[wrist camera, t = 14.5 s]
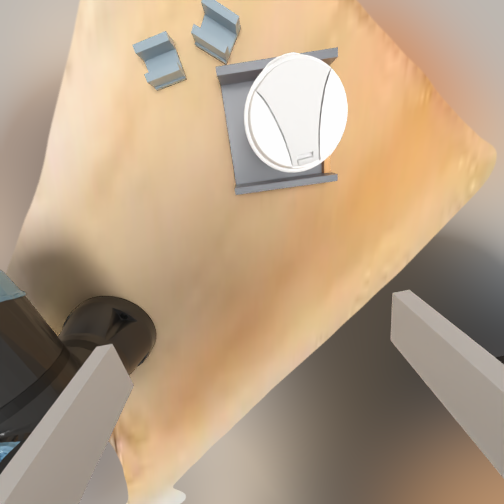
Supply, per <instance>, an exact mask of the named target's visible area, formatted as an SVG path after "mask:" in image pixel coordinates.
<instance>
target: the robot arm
mask: <svg viewBox="0 0 504 504" xmlns="http://www.w3.org/2000/svg"><path fill="white" fill-rule="evenodd" d="M25 295H26V293H25V292H24V291H21V290H20V289H19V288H18V287H17V286H16V285H15V284H14V283H13V282H12V281H11V279H10V278H9V277H8V276H7V275H6V274H5V273H4V272H3V271H2V270H0V504H79V503H80V500H81V498H82V496H83V494H84V492H85V489H86V488H87V485H88V483H89V481H90V479H91V477H92V475H93V472H94V470H95V468H96V466H97V464H98V462H99V460H100V457H101V455H102V453H103V451H104V448H105V447H106V444H107V442H108V440H109V438H110V436H111V434H112V432H113V429H114V427H115V425H116V423H117V421H118V419H119V416H120V414H121V412H122V410H123V408H124V406H125V404H126V401H127V399H128V397H129V395H130V393H131V391H132V388H133V386H134V385H133V383H132V381H131V379H130V377H129V375H130V374H131V373H132V372H133V371H134V370H135V369H136V367H137V366H139V365H140V364H141V363H143V362H144V361H145V360H146V358H147V357H148V355H149V354H150V352H151V350H152V348H153V346H154V343H155V340H156V331H155V327H154V325H153V322H152V321H151V319H150V318H149V316H148V315H147V314H146V313H145V312H144V311H143V310H142V309H141V308H139V307H138V306H136V305H135V304H133V303H131V302H129V301H127V300H124V299H121V298H117V297H110V296H101V297H95V298H91V299H88V300H86V301H84V302H83V303H81V304H80V305H79V306H78V307H77V308H76V309H75V310H73V311H72V312H71V313H70V315H69V316H68V317H67V319H66V321H65V323H64V326H63V329H62V331H61V333H60V335H59V336H57V335H56V334H55V333H54V331H53V330H52V329H51V328H50V326H49V325H48V324H47V323H46V321H45V320H44V319H43V318H42V316H41V315H40V314H39V313H38V311H37V310H36V309H35V308H34V306H33V305H32V304H31V303H30V301H29V300H28V299H27V298H26V296H25ZM391 341H392V342H393V344H394V345H395V346H396V347H397V349H398V350H399V351H400V352H401V353H402V355H403V356H404V357H405V358H406V360H407V361H408V362H409V363H410V364H411V366H412V367H413V368H414V369H415V370H416V372H417V373H418V374H419V375H420V377H421V378H422V379H423V380H424V382H425V383H426V384H427V385H428V386H429V388H430V389H431V390H432V391H433V393H434V394H435V395H436V396H437V397H438V399H439V400H440V401H441V402H442V403H443V405H444V406H445V407H446V408H447V410H448V411H449V412H450V413H451V415H452V416H453V417H454V418H455V419H456V421H457V422H458V423H459V424H460V426H461V427H462V428H463V429H464V430H465V432H466V433H467V434H468V435H469V436H470V438H471V439H472V440H473V441H474V443H475V444H476V445H477V446H478V448H479V449H480V450H481V451H482V452H483V454H484V455H485V456H486V457H487V459H488V460H489V461H490V462H491V463H492V465H493V466H494V467H495V468H496V469H497V471H498V472H499V473H500V474H501V476H502V477H503V478H504V356H500V357H494V356H492V355H491V354H490V353H489V352H487V351H486V350H485V349H484V348H482V347H481V346H480V345H478V344H477V343H476V342H475V341H473V340H472V339H470V337H468V336H467V335H466V334H465V333H463V332H462V331H461V330H460V329H458V328H457V327H456V326H454V325H453V324H452V323H451V322H449V321H448V320H447V319H445V318H444V317H443V316H442V315H441V314H439V313H438V312H437V311H435V310H434V309H433V308H432V307H430V306H429V305H428V304H427V303H425V302H424V301H423V300H422V299H420V298H419V297H418V296H416V295H415V294H414V293H413V292H411V291H410V290H406V291H401V292H395V293H393V294H392V317H391Z"/></svg>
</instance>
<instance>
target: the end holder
mask: <svg viewBox="0 0 504 504" xmlns="http://www.w3.org/2000/svg"><path fill="white" fill-rule="evenodd" d="M300 54H303V55H308V56H313V57H315V58H318V59H320V60H322V61H323V62H325V63H326V64H328V65H329V66H330V64H331V63H332V62H333V61H334V60H335V59H336V58H337V57H338V47H337V48H331V49H325V50H318V51H312V52H306V53H300ZM275 58H277V57H274V58H268V59H262V60H256V61H249V62H243V63H237V64H230V65H224V66H218V67H216V73H217V77H218V79H219V82H220V84H221V89H222V96H223V102H224V109H225V115H226V122H227V128H228V135H229V141H230V148H231V154H232V161H233V167H234V174H235V180H236V187H235V193H236V195H238V194H245V193H252V192H260V191H267V190H274V189H281V188H288V187H296V186H303V185H310V184H317V183H324V182H332V181H337V174H335V173H330V155H329V156H328V157H327V158H326V159H325V160H324V161H323V162H322V163H320V164H319V165H317V166H315V167H313V168H311V169H309V170H306V171H301V172H283V171H279V170H276V169H274V168H272V167H270V166H268V165H267V164H265V163H264V162H263V161H262V160H261V159H260V158H259V157H258V156H257V155H256V154H255V152H254V151H253V149H252V148H251V145H250V143H249V141H248V138H247V135H246V132H245V126H244V110H245V103H246V99H247V96H248V93H249V91H250V88H251V86H252V85H253V83H254V81H255V80H256V78H257V77H258V76H259V74H260V73H261V72H262V71H263V69H264V68H265V67H266V65H267V64H268V63H269V62H270V61H272V60H273V59H275Z"/></svg>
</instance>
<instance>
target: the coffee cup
mask: <svg viewBox="0 0 504 504" xmlns="http://www.w3.org/2000/svg"><path fill="white" fill-rule="evenodd" d="M347 113H348V111H347V98H346V93H345V90H344V87H343V84H342V82H341V80H340V78H339V77H338V76H337V74H336V73H335V71H334V70H333V69H332V68H331V67H330V66H329V65H328V64H326V63H325V62H323V61H322V60H320V59H318V58H315V57H313V56H308V55H303V54H299V53H295V52H292V53H288V54H284V55H281V56H279V57H277V58H275V59H273V60H272V61H270V62H269V63H268V64H267V65H266V67H265V68H264V69H263V71H262V72H261V73H260V74H259V76H258V77H257V78H256V80H255V81H254V83H253V85H252V86H251V88H250V91H249V93H248V96H247V99H246V103H245V110H244V126H245V132H246V135H247V138H248V141H249V143H250V145H251V148H252V149H253V151H254V152H255V154H256V155H257V156H258V157H259V158H260V159H261V160H262V161H263V162H264V163H265V164H267V165H268V166H270V167H272V168H274V169H276V170H279V171H283V172H301V171H306V170H309V169H311V168H313V167H315V166H317V165H319V164H320V163H322V162H323V161H324V160H325V159H326V158H327V157H328V156H329V155H331V153H332V152H333V151H334V149H335V148H336V147H337V145H338V143H339V142H340V140H341V138H342V135H343V133H344V130H345V126H346V122H347Z"/></svg>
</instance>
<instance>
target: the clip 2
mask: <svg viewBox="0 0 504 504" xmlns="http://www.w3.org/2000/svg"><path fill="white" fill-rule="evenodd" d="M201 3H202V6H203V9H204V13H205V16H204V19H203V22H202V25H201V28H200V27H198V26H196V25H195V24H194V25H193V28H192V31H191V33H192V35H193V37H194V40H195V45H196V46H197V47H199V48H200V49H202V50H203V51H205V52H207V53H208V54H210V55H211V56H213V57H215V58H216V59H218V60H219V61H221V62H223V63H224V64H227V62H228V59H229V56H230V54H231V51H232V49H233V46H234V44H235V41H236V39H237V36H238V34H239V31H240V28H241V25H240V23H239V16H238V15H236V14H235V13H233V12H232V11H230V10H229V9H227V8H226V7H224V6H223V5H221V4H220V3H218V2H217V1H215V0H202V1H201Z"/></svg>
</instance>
